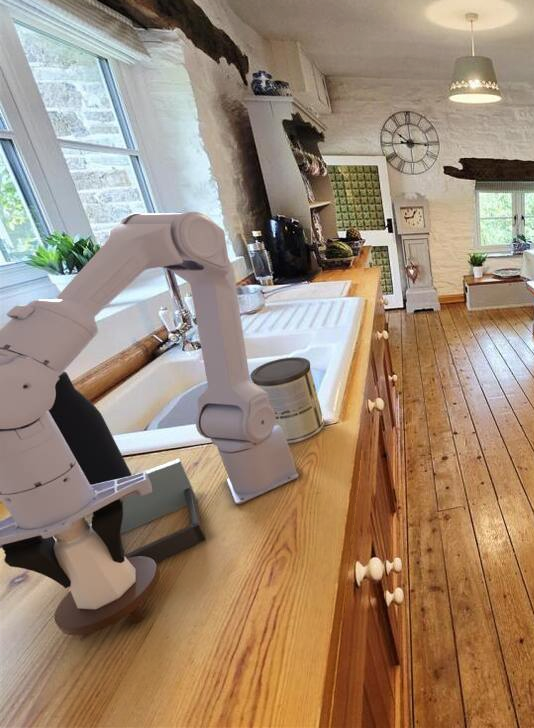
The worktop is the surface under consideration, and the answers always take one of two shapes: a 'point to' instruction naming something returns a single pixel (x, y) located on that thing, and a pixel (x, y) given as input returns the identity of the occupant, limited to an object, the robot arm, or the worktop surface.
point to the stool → (96, 619)
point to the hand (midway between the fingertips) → (95, 569)
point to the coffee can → (291, 396)
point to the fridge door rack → (164, 511)
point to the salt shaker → (91, 567)
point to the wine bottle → (87, 434)
